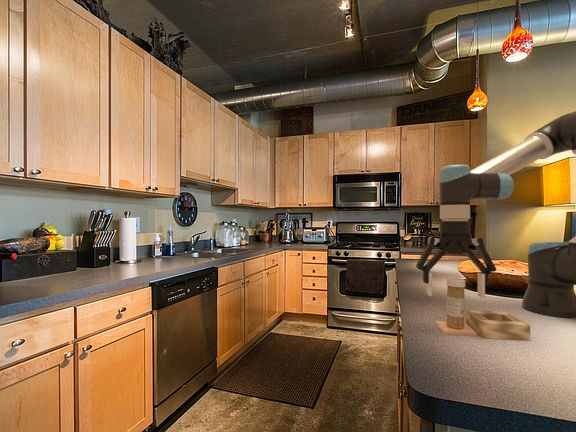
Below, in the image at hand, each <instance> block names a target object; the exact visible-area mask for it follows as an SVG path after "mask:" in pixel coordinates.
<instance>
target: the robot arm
mask: <svg viewBox="0 0 576 432" xmlns="http://www.w3.org/2000/svg"><path fill="white" fill-rule="evenodd" d="M568 151H571V153H572V154H573V155H576V110H575V111H573V112H569V113H565V114H563V115H561V116H559V117H557V118H555V119H553V120H551V121H550V122H547V123H546V124H545V125H543V126H541V127H539V128H537V129H536V130H534V131H533V132H531V133H529V134H528V135H526V137H525V138H524V140H523V141H520V142H519V143H518V144H516V145H514V146H512V147H510V148H508V149H506V150H504V151H503V152H501V153H500V154H498V155H496V156H494V157H493V158H490V159H488V160H487V161H485V162H483V163H482V164H480V165H478V166H476V167H475V168H472V169H471V167H470V166H469V164H458V163H457V164H450V165H444V166H442V167H441V168H440V173H439V182H438V183H439V219H441V221H440V222H439V237H438V238H437V237H432V236H429V237H428V238H427V244H426V246H425V248H424V250H423V251H422V253H421V256H420V257H419V259H418V261H417V263H416V265H415V268H416V269H418V270H420V271H422V282H423V283H425V284H426V294H427V295H428V296H429V297H432V296H433V272H431V270H432V269H433V268H434V266H435V265H436V264H437V263H438V262H439V261H440V260H441V259H442V258H443V257H444V256H445V255H446V254H451V255H453V254H459V255H462V254H464V255H465V256H467V258H468V259H469V260H470V261H471V262H472V264H474V265H475V266H476V268H477V269H478V270H479V271H480V272H478V271H477V296H478V297H480V298H481V299H485V298H486V286H488V285H489V275H490V274H491V273H492V272H496V271H497V267H496V266H495V263H494V262H493V259H492V258H491V256H490V255H489V253H488V251H487V249H486V247H485V244H484V239H483V238H482V237H477V236H476V237H474V238H471V222H470V221H469V220H470V219H471V202H472V201H487V200H493V201H498V200H506V199H508V198H509V197H510V196H511V195H512V193H513V192H514V187H515V186H514V183H515V182H514V180H513V177H512V176H511V175H513V174H515V173H516V172H518V171H520V170H522V169H523V168H526V167H527V166H529V165H530V164H532V163H534V162H536V161H538V160H545V159H548V158H550V157H552V156H554V155H556V154H560V153H563V152H568ZM437 244H439V245H440V247H439V248H438V250H437V251H436V252H435V254H434V255H433V256H432V257H431V258H430V259H429V260H428V258H429V257H430V255H431V253H432V251H433V250H434V246H437ZM471 244H473V246H475V248H476V251H477V252H478V254H479V255H480V257H481V259H482V261H483V262H482V261H481V260H480V259H479V258H478V257H477V256H476V254H474V252H473V251H472V250H471V249H470V248H469V247H470V246H471ZM427 261H428V262H427ZM527 266H528V267H527V268H528V269H527V270H528V286H527V288H526V290H525V293H524V295H523V298H522V301H521V302H522V304H521V305H522V306H521V307H522V308H523V309H525V310H527V311H529V312H533V313H535V314H540V315H541V314H542V315H545V316H551V317H557V318H558V317H559V318H576V292H575V286H576V235H575V236H574V237H573V238H571V239H570V240H568V241H553V242H552V241H551V242H550V241H549V242H547V241H546V242H545V241H544V242H533V243H531V244H530V245H529V246H528V253H527Z"/></svg>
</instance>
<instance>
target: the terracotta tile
mask: <svg viewBox="0 0 576 432" xmlns="http://www.w3.org/2000/svg"><path fill="white" fill-rule="evenodd" d="M446 323H447V321H443V320H442V321H439V320H435V325H436V326H437V327H438V328H439V330H440V331H442V333H443V334H444V335H453V336H454V335H456V336H457V335H458V336H471V337H474V336H475V337H476V336H477V334H478V333H477V332H475V331H474V330H473V329H472V328H471V327H470V326H468V325H467V324H466V322H464V328H462V329H457V328H452V327H449V326H447V324H446Z"/></svg>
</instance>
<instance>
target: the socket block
mask: <svg viewBox="0 0 576 432" xmlns="http://www.w3.org/2000/svg"><path fill="white" fill-rule="evenodd" d="M465 313H466V314H465V315H466V316H465V318H466V322H465V323H466V324H467V325H468V326H469V327H471V328H472V329H473V330H474V331H475V332H476V333H477V334H478V335H479V336H480V337H481V338H482V339H490V340H509V341H527V342H531V325H530V324H529V323H527V322H525V321H524V320H522V319H520V318H518V317H517V316H515V315H513V314H511V313H510V312H508V311H493V310H492V311H490V310H488V311H487V310H469V309H467V310H466V311H465Z"/></svg>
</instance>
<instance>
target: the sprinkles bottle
mask: <svg viewBox="0 0 576 432" xmlns="http://www.w3.org/2000/svg"><path fill="white" fill-rule="evenodd" d="M446 287H447V289H446V290H447V291H446V292H447V295H446V322H447V323H446V324H447V326H449V327H452V328H457V329H462V328H464V323H465V301H466V299H465V288H466V280H465V279H464V278H460V277H448V278H446Z"/></svg>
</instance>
